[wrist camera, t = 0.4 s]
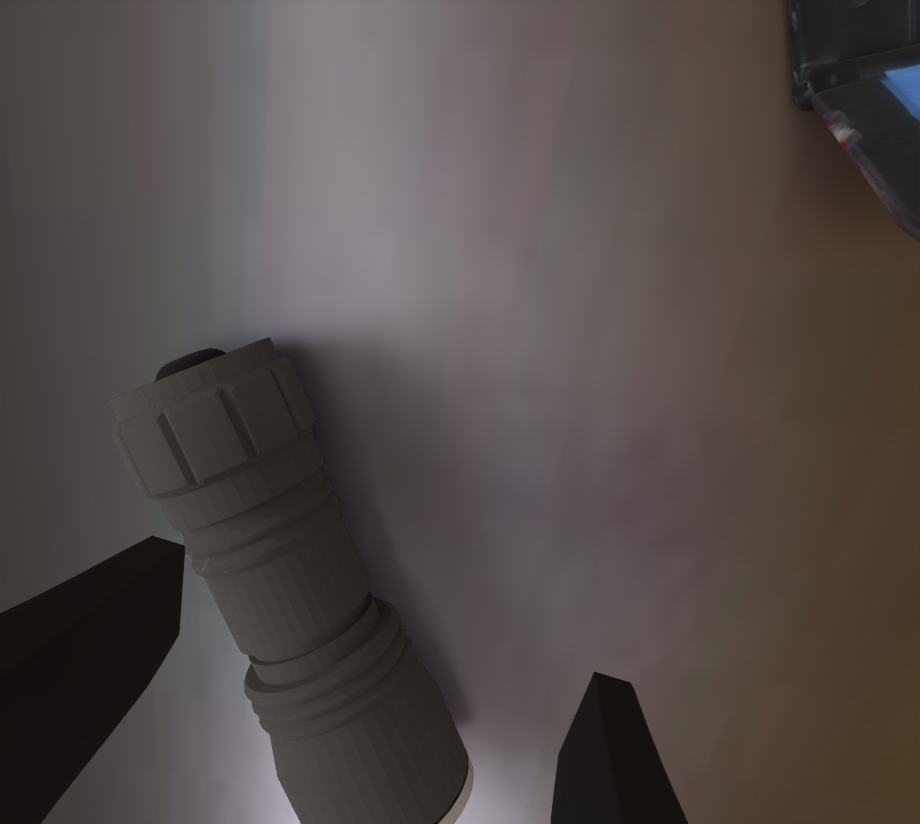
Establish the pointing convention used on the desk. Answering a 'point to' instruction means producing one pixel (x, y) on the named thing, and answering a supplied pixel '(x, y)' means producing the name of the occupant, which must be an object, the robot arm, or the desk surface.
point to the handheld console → (865, 89)
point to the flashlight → (294, 590)
